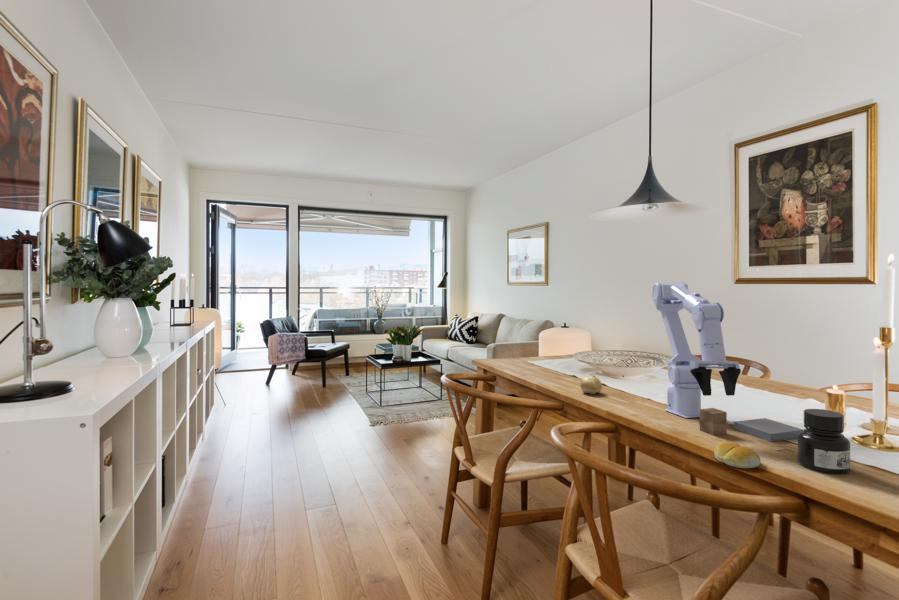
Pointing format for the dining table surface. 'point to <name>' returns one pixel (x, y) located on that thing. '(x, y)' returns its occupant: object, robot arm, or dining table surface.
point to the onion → (591, 385)
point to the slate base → (767, 429)
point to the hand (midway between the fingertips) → (718, 395)
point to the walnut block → (713, 421)
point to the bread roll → (736, 455)
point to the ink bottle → (824, 442)
